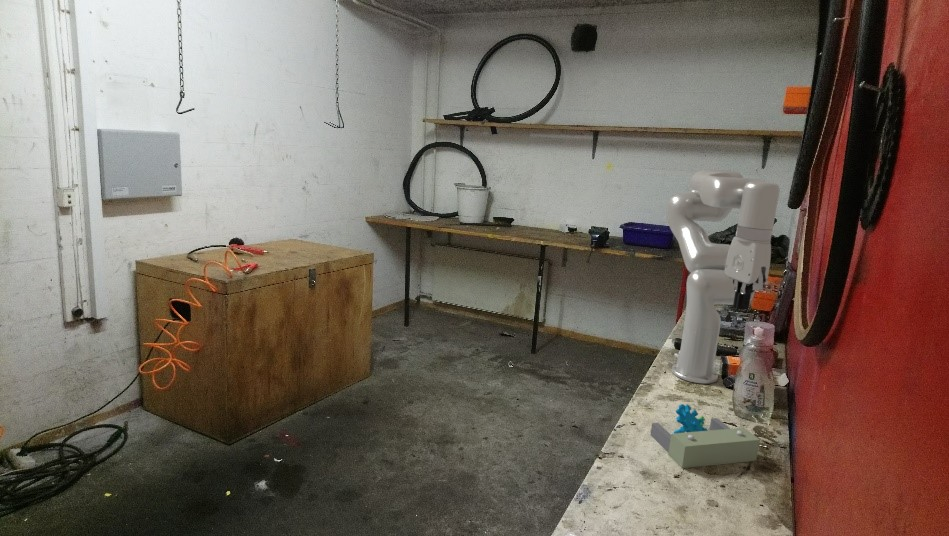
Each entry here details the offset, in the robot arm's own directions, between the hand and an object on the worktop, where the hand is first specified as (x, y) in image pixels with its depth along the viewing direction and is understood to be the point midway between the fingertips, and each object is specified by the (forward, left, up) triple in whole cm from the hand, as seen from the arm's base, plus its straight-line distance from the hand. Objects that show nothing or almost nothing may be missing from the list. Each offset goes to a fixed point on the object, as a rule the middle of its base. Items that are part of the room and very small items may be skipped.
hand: (740, 308), depth 134 cm
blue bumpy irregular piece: (+12, -18, -27) cm, 35 cm away
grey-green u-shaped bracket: (+16, -18, -27) cm, 36 cm away
